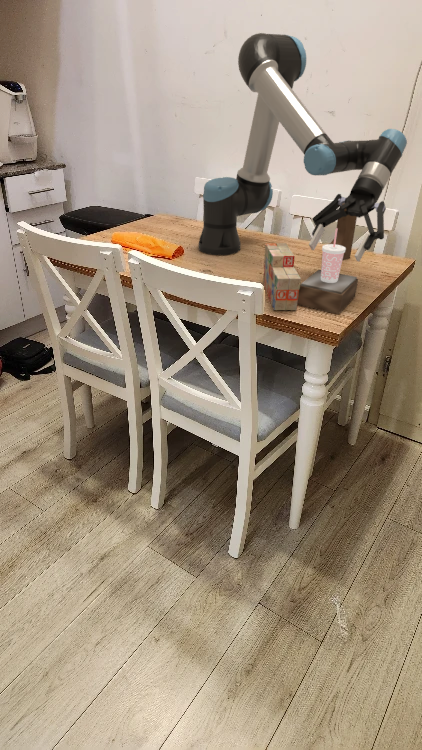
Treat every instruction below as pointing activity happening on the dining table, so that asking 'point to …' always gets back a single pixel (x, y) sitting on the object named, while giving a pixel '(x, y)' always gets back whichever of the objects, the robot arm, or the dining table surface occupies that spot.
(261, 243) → the dining table surface
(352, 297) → the plinth
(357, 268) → the dining table surface
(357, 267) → the dining table surface
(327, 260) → the beverage cup
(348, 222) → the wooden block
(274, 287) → the stack of blocks
